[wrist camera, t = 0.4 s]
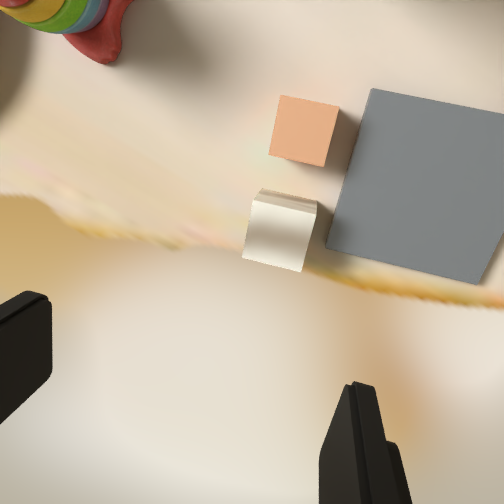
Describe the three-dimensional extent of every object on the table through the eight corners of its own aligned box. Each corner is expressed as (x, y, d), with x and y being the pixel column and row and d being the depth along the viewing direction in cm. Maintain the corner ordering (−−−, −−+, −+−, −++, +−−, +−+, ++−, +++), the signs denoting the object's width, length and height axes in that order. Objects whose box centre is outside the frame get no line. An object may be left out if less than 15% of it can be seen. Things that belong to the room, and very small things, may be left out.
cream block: (262, 188, 41) (253, 199, 36) (317, 200, 41) (316, 214, 35) (251, 239, 44) (241, 257, 38) (303, 252, 43) (300, 272, 38)
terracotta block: (285, 96, 37) (280, 94, 33) (337, 107, 37) (339, 106, 32) (274, 149, 40) (268, 154, 35) (323, 160, 39) (323, 166, 34)
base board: (370, 89, 36) (372, 88, 34) (547, 124, 34) (557, 124, 33) (325, 243, 42) (325, 248, 41) (471, 279, 41) (477, 284, 39)
